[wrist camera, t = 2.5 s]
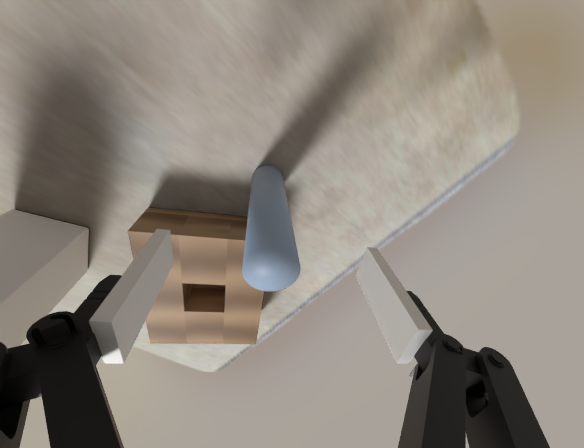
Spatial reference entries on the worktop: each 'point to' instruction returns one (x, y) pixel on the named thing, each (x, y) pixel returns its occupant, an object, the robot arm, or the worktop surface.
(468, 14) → the worktop surface
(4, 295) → the milk carton
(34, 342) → the robot arm
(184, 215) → the bore block
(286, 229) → the pin
